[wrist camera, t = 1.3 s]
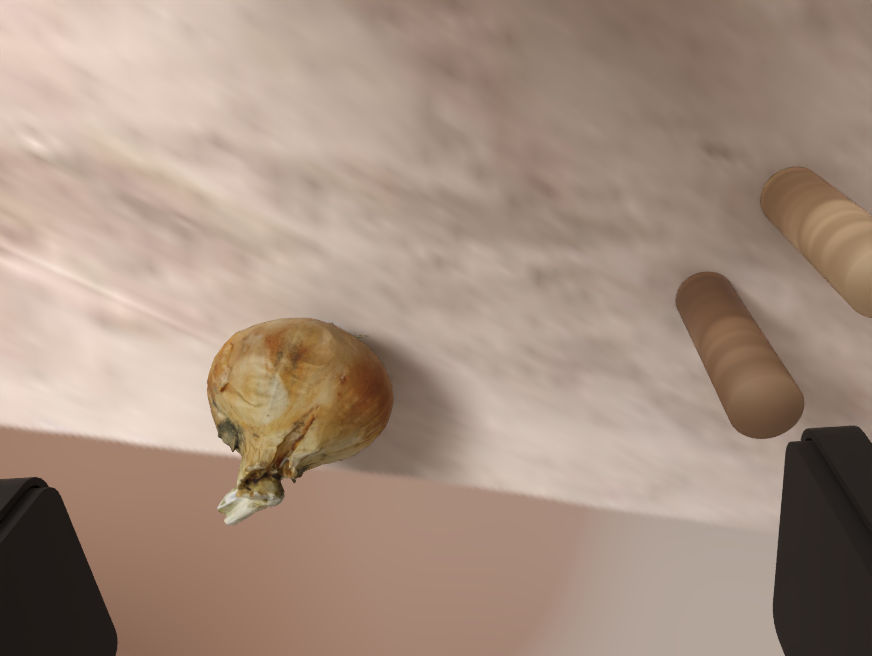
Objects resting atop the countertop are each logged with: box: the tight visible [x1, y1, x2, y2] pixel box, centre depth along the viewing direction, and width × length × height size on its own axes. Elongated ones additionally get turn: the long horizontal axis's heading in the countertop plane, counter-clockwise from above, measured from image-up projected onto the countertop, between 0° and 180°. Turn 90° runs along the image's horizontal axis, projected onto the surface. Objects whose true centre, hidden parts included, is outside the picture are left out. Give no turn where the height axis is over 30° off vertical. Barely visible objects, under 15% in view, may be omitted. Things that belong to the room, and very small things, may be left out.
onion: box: [207, 318, 393, 525], centre depth 34 cm, size 8×8×8 cm
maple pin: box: [760, 167, 872, 318], centre depth 28 cm, size 2×2×9 cm
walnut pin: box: [676, 272, 804, 439], centre depth 30 cm, size 2×2×9 cm
